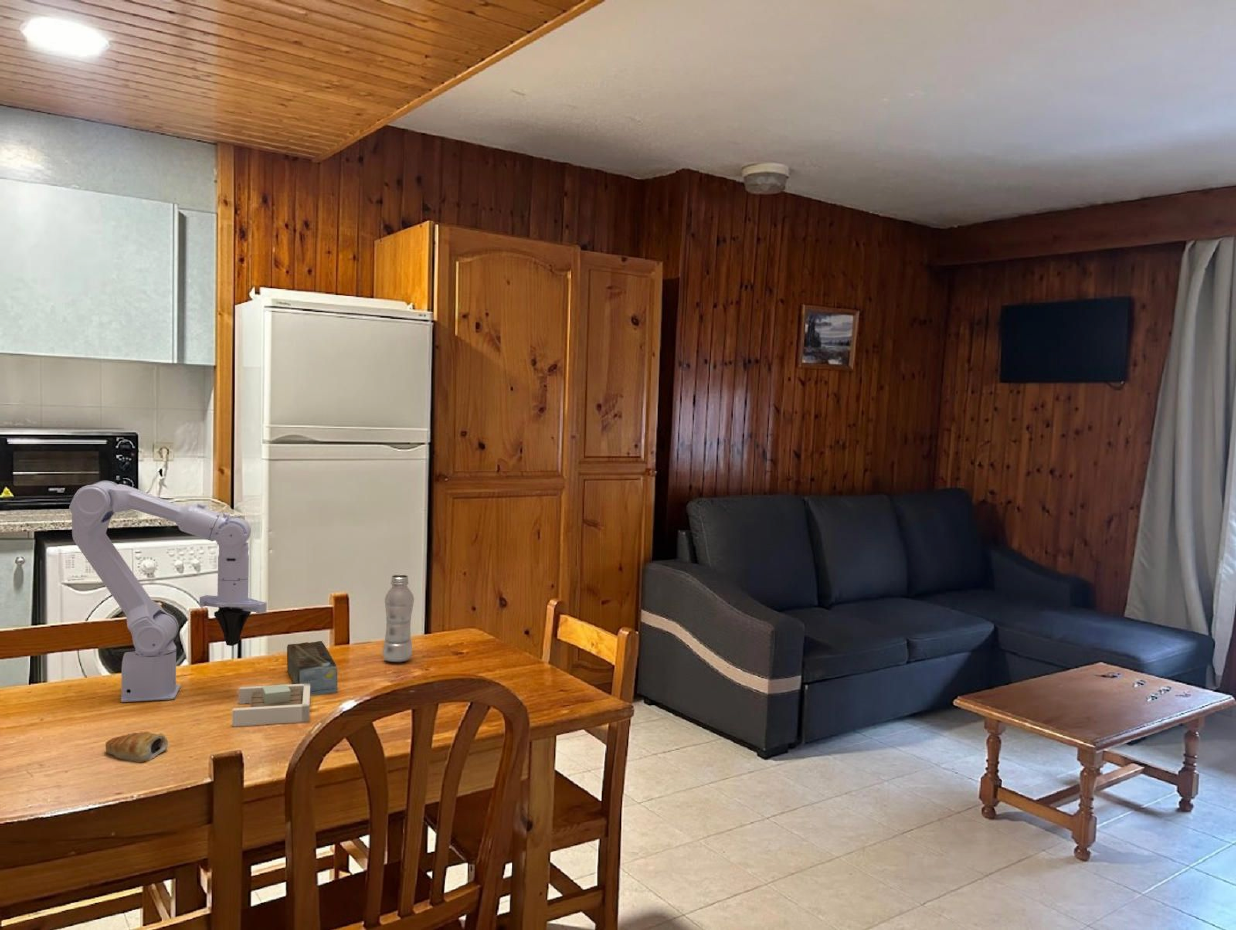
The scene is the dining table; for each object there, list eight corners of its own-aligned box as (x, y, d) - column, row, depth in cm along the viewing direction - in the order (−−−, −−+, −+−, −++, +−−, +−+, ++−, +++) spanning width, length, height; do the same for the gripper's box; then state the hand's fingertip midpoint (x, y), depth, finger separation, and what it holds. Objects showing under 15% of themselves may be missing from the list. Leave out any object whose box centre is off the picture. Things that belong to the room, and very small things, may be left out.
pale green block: (265, 704, 168) (265, 693, 168) (261, 696, 172) (262, 686, 172) (290, 701, 170) (290, 690, 170) (286, 693, 174) (286, 683, 174)
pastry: (94, 758, 146) (94, 736, 146) (123, 744, 153) (123, 722, 153) (145, 765, 145) (146, 742, 145) (172, 749, 152) (173, 727, 151)
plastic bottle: (384, 657, 209) (386, 573, 207) (413, 657, 210) (416, 573, 208) (380, 665, 202) (382, 578, 201) (410, 665, 203) (413, 579, 202)
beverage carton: (297, 698, 179) (297, 666, 179) (285, 671, 196) (285, 641, 196) (338, 694, 183) (338, 662, 182) (322, 667, 200) (323, 638, 199)
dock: (232, 726, 162) (232, 710, 162) (239, 702, 175) (239, 687, 175) (308, 721, 166) (309, 705, 166) (309, 697, 179) (310, 683, 179)
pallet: (249, 723, 166) (250, 708, 166) (251, 706, 174) (252, 692, 174) (300, 719, 169) (301, 704, 169) (300, 703, 177) (300, 689, 177)
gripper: (188, 578, 177) (188, 645, 178) (250, 585, 173) (249, 653, 174) (213, 572, 183) (213, 636, 184) (273, 578, 179) (272, 644, 180)
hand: (232, 644), depth 179 cm, fingers closed
